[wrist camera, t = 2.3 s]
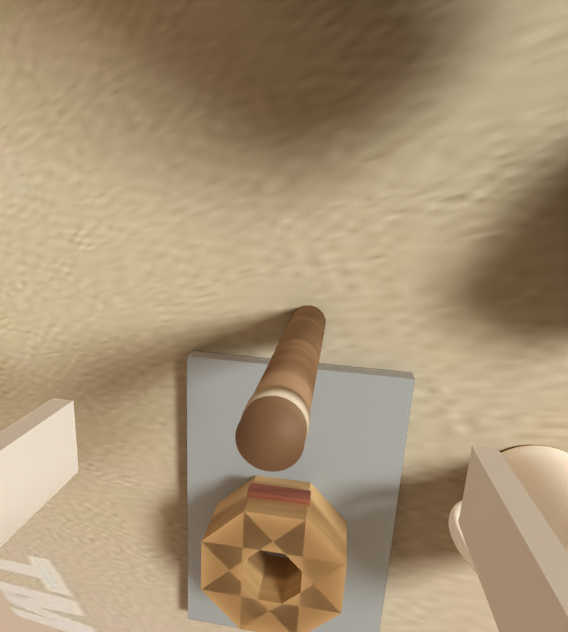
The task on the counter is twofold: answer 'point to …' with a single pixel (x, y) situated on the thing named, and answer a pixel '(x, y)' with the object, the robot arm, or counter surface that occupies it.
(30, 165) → the counter surface
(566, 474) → the mug
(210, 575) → the bead
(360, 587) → the board
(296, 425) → the brown cigar
